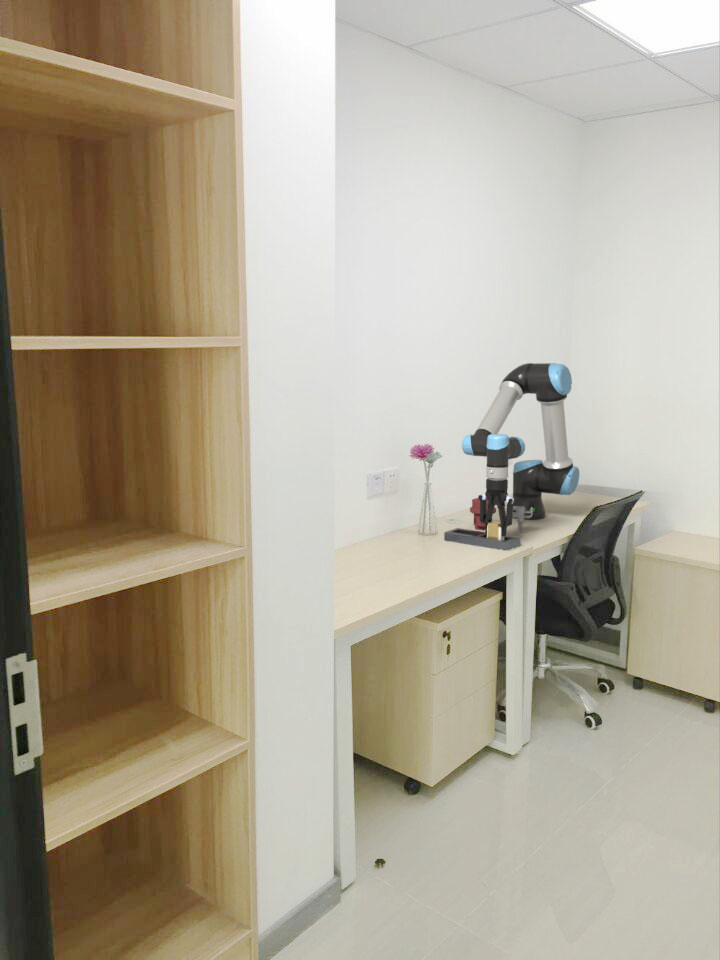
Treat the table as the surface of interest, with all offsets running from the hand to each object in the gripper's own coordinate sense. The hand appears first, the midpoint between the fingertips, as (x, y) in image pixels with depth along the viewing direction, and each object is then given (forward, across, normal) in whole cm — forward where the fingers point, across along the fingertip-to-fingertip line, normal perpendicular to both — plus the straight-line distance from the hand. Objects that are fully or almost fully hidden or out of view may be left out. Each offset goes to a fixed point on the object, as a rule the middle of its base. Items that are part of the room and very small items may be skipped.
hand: (495, 543), depth 296 cm
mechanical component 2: (+1, -18, +21) cm, 27 cm away
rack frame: (+1, -6, 0) cm, 6 cm away
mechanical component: (+1, -3, +23) cm, 23 cm away
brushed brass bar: (0, 0, 0) cm, 0 cm away
